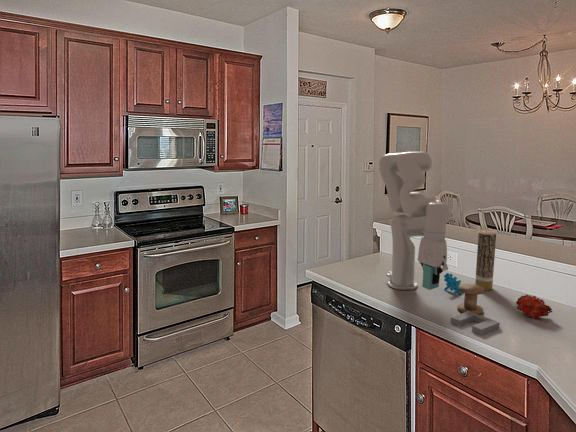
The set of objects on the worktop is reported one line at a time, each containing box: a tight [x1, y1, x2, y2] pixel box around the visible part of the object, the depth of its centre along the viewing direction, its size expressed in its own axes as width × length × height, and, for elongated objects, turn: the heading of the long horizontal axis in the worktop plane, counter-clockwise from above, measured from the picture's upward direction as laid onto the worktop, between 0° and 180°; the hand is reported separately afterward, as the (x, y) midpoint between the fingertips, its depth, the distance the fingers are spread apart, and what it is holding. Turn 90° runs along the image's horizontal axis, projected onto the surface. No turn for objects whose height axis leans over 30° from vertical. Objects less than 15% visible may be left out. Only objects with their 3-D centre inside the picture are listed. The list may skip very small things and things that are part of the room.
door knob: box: [456, 283, 486, 316], centre depth 165 cm, size 9×9×9 cm
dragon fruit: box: [515, 294, 553, 321], centre depth 159 cm, size 8×8×12 cm
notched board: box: [450, 311, 500, 336], centre depth 152 cm, size 12×10×2 cm
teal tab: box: [421, 264, 440, 291], centre depth 166 cm, size 4×5×9 cm
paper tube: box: [474, 229, 497, 291], centre depth 187 cm, size 7×7×25 cm
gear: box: [443, 272, 462, 295], centre depth 186 cm, size 11×6×10 cm
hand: (431, 281), depth 166 cm, fingers closed on teal tab, 3 cm apart
